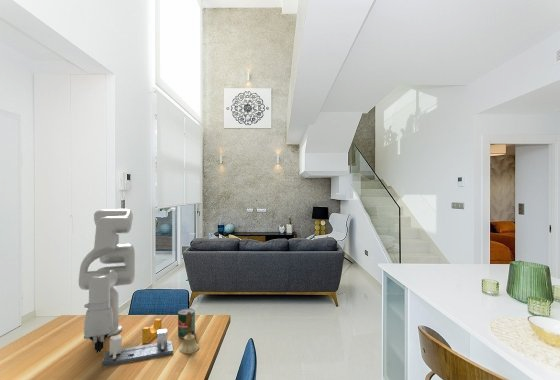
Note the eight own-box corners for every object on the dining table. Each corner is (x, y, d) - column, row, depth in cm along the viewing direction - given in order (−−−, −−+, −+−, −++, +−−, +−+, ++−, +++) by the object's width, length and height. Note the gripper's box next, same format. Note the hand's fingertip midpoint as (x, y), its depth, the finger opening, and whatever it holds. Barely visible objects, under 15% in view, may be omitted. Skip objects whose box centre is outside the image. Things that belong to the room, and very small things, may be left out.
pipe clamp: (153, 331, 155) (153, 318, 155) (161, 332, 154) (161, 318, 155) (138, 342, 143) (138, 328, 143) (147, 343, 143) (147, 328, 143)
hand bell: (180, 355, 131) (181, 316, 132) (178, 347, 139) (178, 310, 139) (201, 351, 135) (201, 313, 135) (197, 343, 142) (197, 307, 143)
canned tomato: (194, 330, 156) (194, 307, 157) (195, 336, 149) (195, 313, 149) (177, 332, 154) (177, 309, 154) (177, 339, 146) (177, 315, 147)
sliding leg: (110, 350, 132) (110, 336, 132) (121, 348, 133) (121, 334, 133) (108, 360, 124) (108, 345, 124) (119, 358, 125) (119, 343, 125)
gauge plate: (105, 355, 132) (105, 337, 132) (171, 343, 142) (171, 326, 142) (102, 367, 122) (102, 347, 123) (172, 354, 132) (173, 336, 133)
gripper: (75, 311, 122) (75, 359, 122) (119, 306, 128) (118, 351, 127) (79, 305, 129) (79, 350, 129) (120, 300, 135) (120, 343, 134)
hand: (99, 350), depth 128 cm, fingers closed
